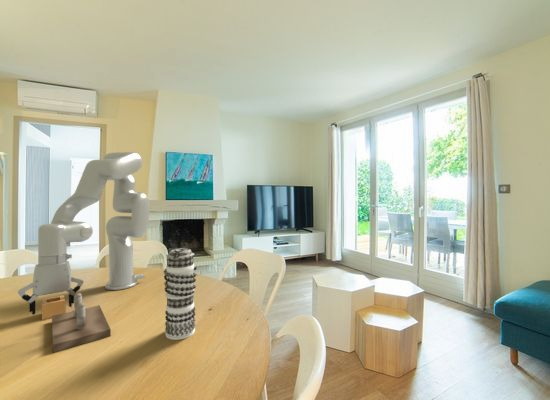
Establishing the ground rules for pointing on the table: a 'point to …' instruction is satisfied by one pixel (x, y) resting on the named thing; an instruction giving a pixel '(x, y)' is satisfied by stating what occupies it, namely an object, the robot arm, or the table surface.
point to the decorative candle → (180, 294)
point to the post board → (78, 326)
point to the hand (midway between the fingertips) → (52, 309)
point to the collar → (53, 306)
